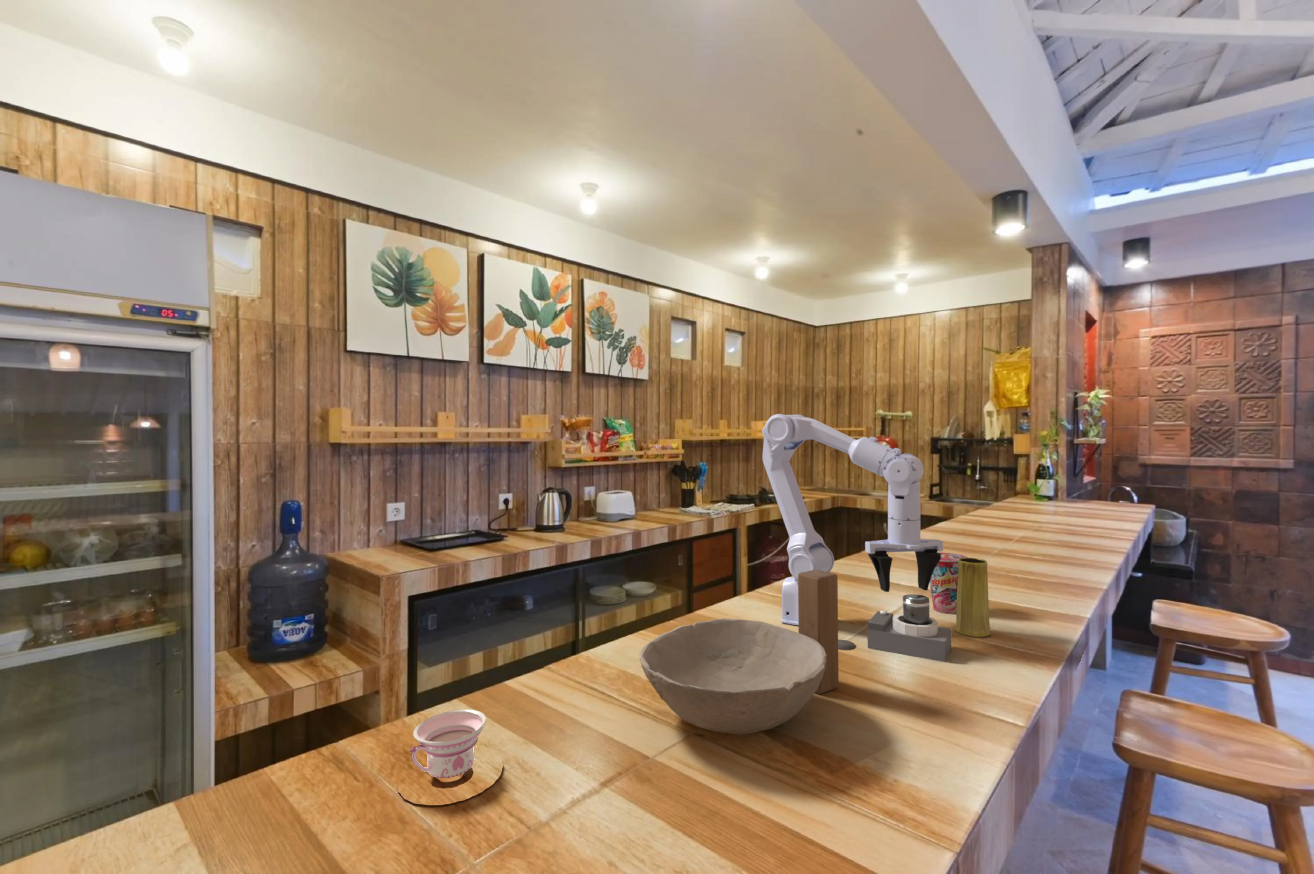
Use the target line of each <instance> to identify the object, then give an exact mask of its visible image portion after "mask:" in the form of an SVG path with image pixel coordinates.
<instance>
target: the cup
mask: <svg viewBox="0 0 1314 874" xmlns="http://www.w3.org/2000/svg"><path fill="white" fill-rule="evenodd" d="M937 553H940V554H941V559H940V561H939V562H938V564H937V565H936V567H935V569H934V571H933V573H932V576H931V579H930V582H929V587H930V594H931V600H932V607H933V610H934V611H935V612H938V613H942V614H950V615H953V614H956V612H957V586H958V559H959V558H970V557H968V556H966V555H963V554H960V553H958V554H957V553H951V552H942V551H937Z"/></svg>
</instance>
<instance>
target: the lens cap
mask: <svg viewBox="0 0 1314 874" xmlns="http://www.w3.org/2000/svg"><path fill="white" fill-rule="evenodd" d="M855 648H856V644H855V643H854V642H853V641H850V640H846V639H838V651H839V650H840V651H850V650H854V649H855Z"/></svg>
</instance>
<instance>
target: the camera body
mask: <svg viewBox="0 0 1314 874" xmlns="http://www.w3.org/2000/svg"><path fill="white" fill-rule="evenodd" d="M929 617H930V624H928V625H913V624H907V623H904V622H903V613H900V614H895V615H894V614H893V613H892V612H887V611H886V610H880V611H877V612H875V613H874V615H873V616H872V617H871V618H870V619H869V620H868V621H867V648H868V649H870V650H871V649H872V650H878V651H884V652H889V653H895V654H898V655H899V654H900V655H904V656H911V657H916V658H923V659H927V660H931V661H932V660H933V661H938V662H942V663H943V662H944V663H946V661H947V659H948V656H949V654H950V652H951V649H952V628H951V627H945V626H944V627H943V626H939V621H938V620H937V619H935V618H933V617H931V616H929Z"/></svg>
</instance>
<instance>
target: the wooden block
mask: <svg viewBox="0 0 1314 874" xmlns="http://www.w3.org/2000/svg"><path fill="white" fill-rule="evenodd" d="M838 584H839V583H838V575H837V574H836V573H834V572H830V571H829V572H825V571H821V570H817V569H816V570H811V571H806V572H801V573H799V574H798V625H797V626H798V633H800V634H802V635H805V636H807V637H810V638H812V639H814V640H816V641H817V642H818V643H820V645H821V646H822V647H823V648H824V650H825V653H826V655H827V658H826V667H825V671H824V674H823V677H822V679H821V681H820V684H819V686H818V688H817V690H816V692H815V693H816V694H818V695H823V694H825V693H828V692H831V691H833V690H836V689H838V688H839V685H840V684H839V683H840V682H839V678H840V677H839V649H838V640H839V603H838V602H839V598H838V597H839V595H838V594H839V593H838V592H839V590H838V587H839V586H838Z"/></svg>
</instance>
